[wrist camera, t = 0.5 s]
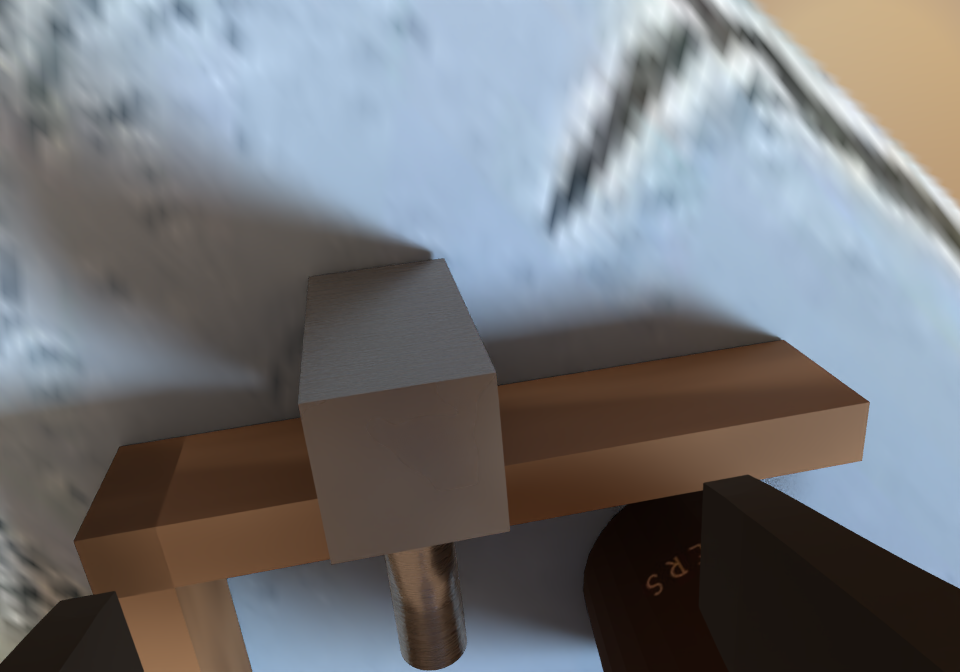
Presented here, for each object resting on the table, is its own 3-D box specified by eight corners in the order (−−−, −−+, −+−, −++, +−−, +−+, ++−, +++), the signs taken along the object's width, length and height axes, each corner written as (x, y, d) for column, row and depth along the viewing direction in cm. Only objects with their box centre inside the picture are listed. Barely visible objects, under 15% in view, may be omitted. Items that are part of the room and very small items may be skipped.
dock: (751, 744, 26) (810, 847, 23) (253, 859, 24) (240, 991, 21) (783, 339, 20) (870, 402, 17) (119, 446, 18) (73, 541, 15)
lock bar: (478, 569, 21) (530, 767, 15) (367, 590, 20) (380, 801, 15) (444, 258, 17) (496, 371, 12) (308, 277, 17) (298, 403, 11)
